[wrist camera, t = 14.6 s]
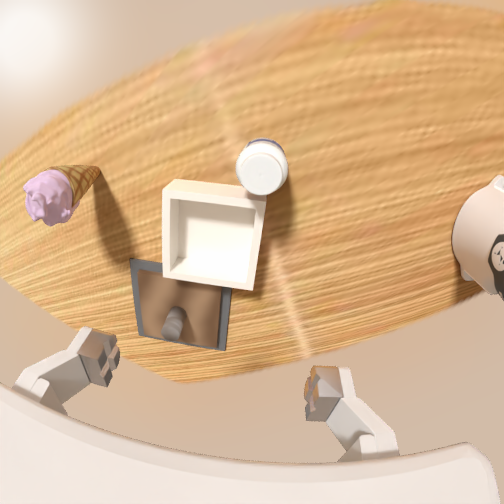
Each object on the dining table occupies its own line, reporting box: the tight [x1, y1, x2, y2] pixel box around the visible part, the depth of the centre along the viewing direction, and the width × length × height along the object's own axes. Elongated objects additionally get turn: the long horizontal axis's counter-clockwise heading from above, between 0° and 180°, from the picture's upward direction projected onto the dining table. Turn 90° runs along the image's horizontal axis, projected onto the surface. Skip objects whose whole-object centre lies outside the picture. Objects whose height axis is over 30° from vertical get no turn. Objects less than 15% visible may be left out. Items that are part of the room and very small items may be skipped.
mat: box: [130, 258, 232, 351], centre depth 47 cm, size 16×16×1 cm
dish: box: [162, 179, 267, 291], centre depth 38 cm, size 12×12×5 cm
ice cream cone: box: [23, 165, 100, 226], centre depth 31 cm, size 7×6×15 cm
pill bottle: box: [236, 138, 288, 195], centre depth 31 cm, size 5×5×10 cm
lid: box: [137, 269, 222, 348], centre depth 44 cm, size 13×13×6 cm
